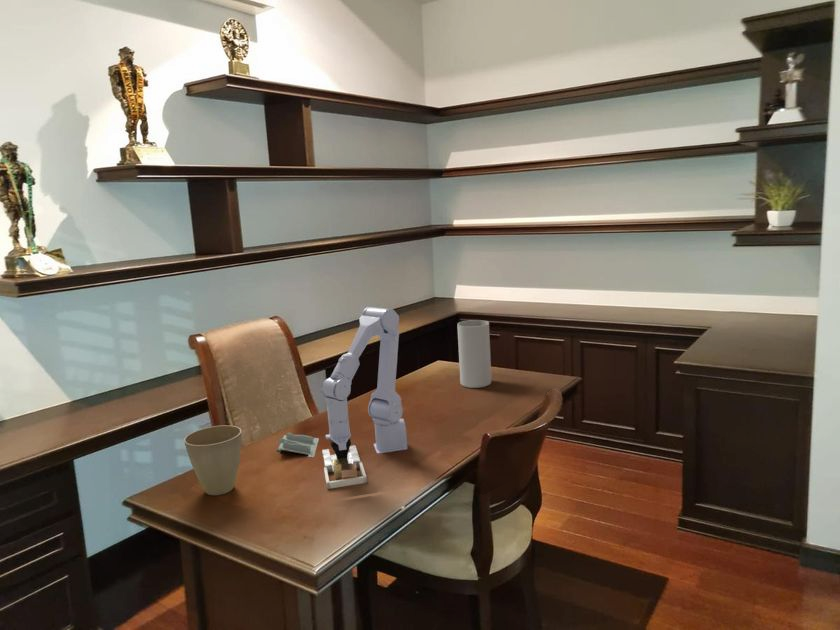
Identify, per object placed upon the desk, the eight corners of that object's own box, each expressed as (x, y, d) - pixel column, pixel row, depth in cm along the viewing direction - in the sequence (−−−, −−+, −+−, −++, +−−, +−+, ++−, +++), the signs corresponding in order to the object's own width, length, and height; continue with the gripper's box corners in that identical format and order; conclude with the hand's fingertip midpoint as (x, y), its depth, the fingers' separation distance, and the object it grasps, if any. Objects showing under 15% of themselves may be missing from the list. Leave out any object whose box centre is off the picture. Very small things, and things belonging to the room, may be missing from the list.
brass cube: (348, 470, 177) (346, 457, 176) (349, 476, 173) (348, 463, 172) (334, 473, 176) (332, 459, 175) (335, 478, 172) (334, 465, 172)
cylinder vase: (458, 380, 257) (454, 321, 252) (487, 378, 258) (485, 319, 253) (463, 389, 245) (460, 327, 240) (494, 386, 246) (492, 325, 241)
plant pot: (258, 487, 171) (251, 432, 168) (207, 508, 161) (199, 450, 158) (231, 472, 182) (225, 420, 179) (182, 491, 172) (174, 436, 169)
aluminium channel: (355, 453, 190) (355, 445, 190) (360, 469, 179) (360, 460, 178) (323, 457, 188) (322, 449, 188) (325, 474, 177) (325, 465, 176)
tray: (362, 469, 179) (361, 461, 178) (367, 484, 169) (366, 477, 168) (324, 474, 177) (323, 467, 176) (327, 490, 167) (326, 483, 166)
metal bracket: (275, 444, 186) (283, 426, 201) (272, 462, 187) (280, 443, 202) (322, 454, 188) (327, 435, 202) (319, 471, 189) (324, 451, 203)
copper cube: (357, 476, 173) (355, 462, 172) (357, 482, 169) (356, 468, 168) (342, 477, 173) (341, 464, 172) (342, 484, 169) (341, 470, 168)
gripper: (322, 412, 182) (326, 456, 185) (326, 430, 168) (330, 477, 171) (346, 409, 183) (350, 453, 186) (352, 426, 169) (356, 473, 172)
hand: (342, 464), depth 178 cm, fingers closed
